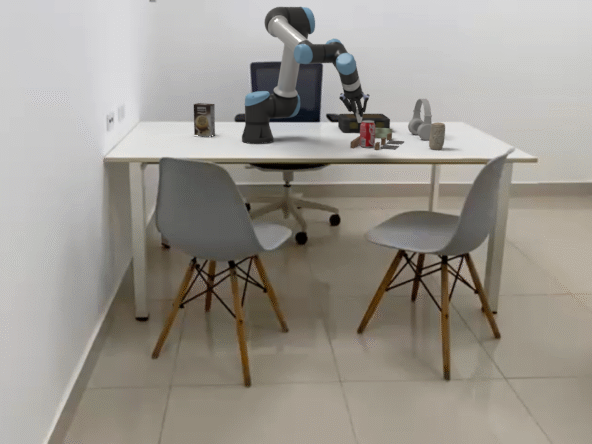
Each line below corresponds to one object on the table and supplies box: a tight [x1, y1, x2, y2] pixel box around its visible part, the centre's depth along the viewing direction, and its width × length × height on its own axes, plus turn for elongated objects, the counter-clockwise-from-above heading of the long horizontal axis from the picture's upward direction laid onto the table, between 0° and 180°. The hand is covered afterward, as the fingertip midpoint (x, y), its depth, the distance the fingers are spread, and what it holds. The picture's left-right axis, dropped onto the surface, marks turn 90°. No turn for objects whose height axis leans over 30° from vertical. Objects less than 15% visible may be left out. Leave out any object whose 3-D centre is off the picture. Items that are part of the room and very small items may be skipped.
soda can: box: [359, 120, 376, 149], centre depth 308 cm, size 7×7×12 cm
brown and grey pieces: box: [349, 128, 405, 151], centre depth 317 cm, size 20×31×5 cm, turn 160°
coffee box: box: [193, 102, 216, 136], centre depth 332 cm, size 9×6×16 cm
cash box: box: [337, 113, 391, 134], centre depth 355 cm, size 25×20×8 cm
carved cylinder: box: [428, 121, 446, 151], centre depth 305 cm, size 6×8×12 cm
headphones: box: [407, 98, 433, 141], centre depth 334 cm, size 20×8×19 cm, turn 7°
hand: (360, 120), depth 292 cm, fingers closed
